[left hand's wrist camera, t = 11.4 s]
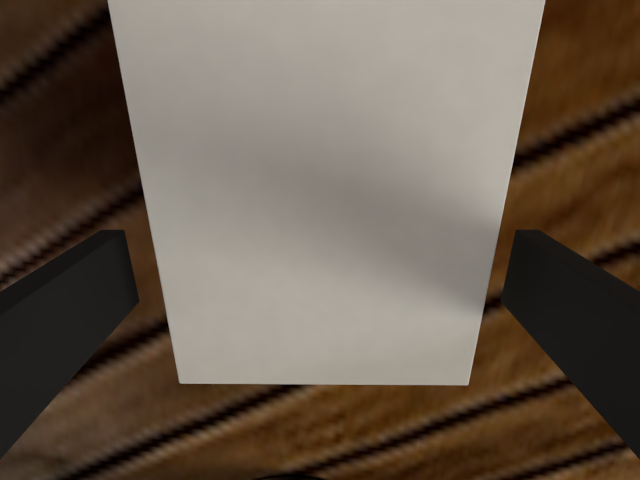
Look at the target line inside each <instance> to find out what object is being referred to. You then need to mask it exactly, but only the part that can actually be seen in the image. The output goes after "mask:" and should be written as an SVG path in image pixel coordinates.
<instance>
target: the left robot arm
mask: <svg viewBox="0 0 640 480" xmlns="http://www.w3.org/2000/svg"><path fill="white" fill-rule="evenodd" d="M138 302H139V298H138V293H137V288H136V283H135V279H134V274H133V269H132V264H131V260H130V255H129V250H128V246H127V241H126V236H125V231H124V230H100V231H99V232H97V233H95V234H94V235H92V236H91V237H89V238H87V239H86V240H84V241H82V242H81V243H79V244H78V245H76V246H74V247H73V248H71V249H69V250H68V251H66V252H64V253H63V254H61V255H60V256H58V257H56V258H55V259H53V260H51V261H50V262H48V263H47V264H45V265H43V266H42V267H40V268H38V269H37V270H35V271H33V272H32V273H30V274H29V275H27V276H25V277H24V278H22V279H20V280H19V281H17V282H16V283H14V284H12V285H11V286H9V287H7V288H6V289H4V290H3V291H1V292H0V459H1V458H2V457H3V456H4V454H5V453H6V452H7V451H8V450H9V449H10V448H11V447H12V445H13V444H14V443H15V442H16V441H17V440H18V439H19V437H20V436H21V435H22V434H23V433H24V432H25V431H26V429H27V428H28V427H29V426H30V425H31V424H32V423H33V421H34V420H35V419H36V418H37V417H38V416H39V415H40V414H41V412H42V411H43V410H44V409H45V408H46V407H47V406H48V404H49V403H50V402H51V401H52V400H53V399H54V398H55V396H56V395H57V394H58V393H59V392H60V391H61V390H62V389H63V387H64V386H65V385H66V384H67V383H68V382H69V381H70V379H71V378H72V377H73V376H74V375H75V374H76V373H77V371H78V370H79V369H80V368H81V367H82V366H83V365H84V364H85V362H86V361H87V360H88V359H89V358H90V357H91V356H92V354H93V353H94V352H95V351H96V350H97V349H98V348H99V346H100V345H101V344H102V343H103V342H104V341H105V340H106V339H107V337H108V336H109V335H110V334H111V333H112V332H113V331H114V329H115V328H116V327H117V326H118V325H119V324H120V323H121V321H122V320H123V319H124V318H125V317H126V316H127V315H128V314H129V312H130V311H131V310H132V309H133V308H134V307H135V306H136V304H137V303H138ZM501 302H502V303H503V304H504V306H505V307H506V308H507V309H508V310H509V311H510V312H511V314H512V315H513V316H514V317H515V318H516V319H517V320H518V321H519V323H520V324H521V325H522V326H523V327H524V328H525V329H526V331H527V332H528V333H529V334H530V335H531V336H532V337H533V339H534V340H535V341H536V342H537V343H538V344H539V345H540V346H541V348H542V349H543V350H544V351H545V352H546V353H547V354H548V356H549V357H550V358H551V359H552V360H553V361H554V362H555V364H556V365H557V366H558V367H559V368H560V369H561V370H562V371H563V373H564V374H565V375H566V376H567V377H568V378H569V379H570V381H571V382H572V383H573V384H574V385H575V386H576V387H577V389H578V390H579V391H580V392H581V393H582V394H583V395H584V396H585V398H586V399H587V400H588V401H589V402H590V403H591V404H592V406H593V407H594V408H595V409H596V410H597V411H598V412H599V414H600V415H601V416H602V417H603V418H604V419H605V420H606V421H607V423H608V424H609V425H610V426H611V427H612V428H613V429H614V431H615V432H616V433H617V434H618V435H619V436H620V437H621V439H622V440H623V441H624V442H625V443H626V444H627V445H628V447H629V448H630V449H631V450H632V451H633V452H634V453H635V454H636V456H637V457H638V458H639V459H640V292H639V291H637V290H636V289H634V288H633V287H631V286H629V285H628V284H626V283H624V282H623V281H621V280H620V279H618V278H616V277H615V276H613V275H611V274H610V273H608V272H607V271H605V270H603V269H602V268H600V267H598V266H597V265H595V264H593V263H592V262H590V261H589V260H587V259H585V258H584V257H582V256H580V255H579V254H577V253H576V252H574V251H572V250H571V249H569V248H567V247H566V246H564V245H562V244H561V243H559V242H558V241H556V240H554V239H553V238H551V237H549V236H548V235H546V234H545V233H543V232H541V231H540V230H516V231H515V236H514V241H513V246H512V250H511V255H510V260H509V264H508V269H507V274H506V279H505V283H504V288H503V293H502V298H501ZM263 480H315V479H310V478H302V477H276V478H268V479H263Z"/></svg>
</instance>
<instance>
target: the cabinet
mask: <svg viewBox="0 0 640 480" xmlns="http://www.w3.org/2000/svg"><path fill="white" fill-rule="evenodd" d="M544 4H545V0H108V6H109V11H110V16H111V21H112V27H113V32H114V37H115V43H116V48H117V53H118V59H119V64H120V69H121V75H122V80H123V85H124V91H125V96H126V101H127V107H128V112H129V117H130V122H131V128H132V133H133V138H134V144H135V149H136V154H137V160H138V165H139V170H140V176H141V181H142V186H143V192H144V197H145V202H146V208H147V213H148V218H149V223H150V229H151V234H152V239H153V245H154V250H155V255H156V261H157V266H158V271H159V277H160V282H161V287H162V293H163V298H164V303H165V309H166V314H167V319H168V325H169V330H170V335H171V340H172V346H173V351H174V356H175V362H176V367H177V372H178V378H179V383H181V384H352V385H468V383H469V378H470V373H471V368H472V363H473V358H474V354H475V349H476V344H477V339H478V334H479V329H480V324H481V319H482V314H483V309H484V304H485V299H486V294H487V289H488V284H489V279H490V274H491V269H492V264H493V259H494V254H495V249H496V244H497V239H498V234H499V229H500V224H501V219H502V214H503V209H504V204H505V199H506V194H507V189H508V184H509V179H510V174H511V169H512V164H513V159H514V154H515V149H516V144H517V139H518V134H519V129H520V124H521V119H522V114H523V109H524V104H525V99H526V94H527V89H528V84H529V79H530V74H531V69H532V64H533V59H534V54H535V49H536V44H537V39H538V34H539V29H540V24H541V19H542V14H543V9H544Z"/></svg>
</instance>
